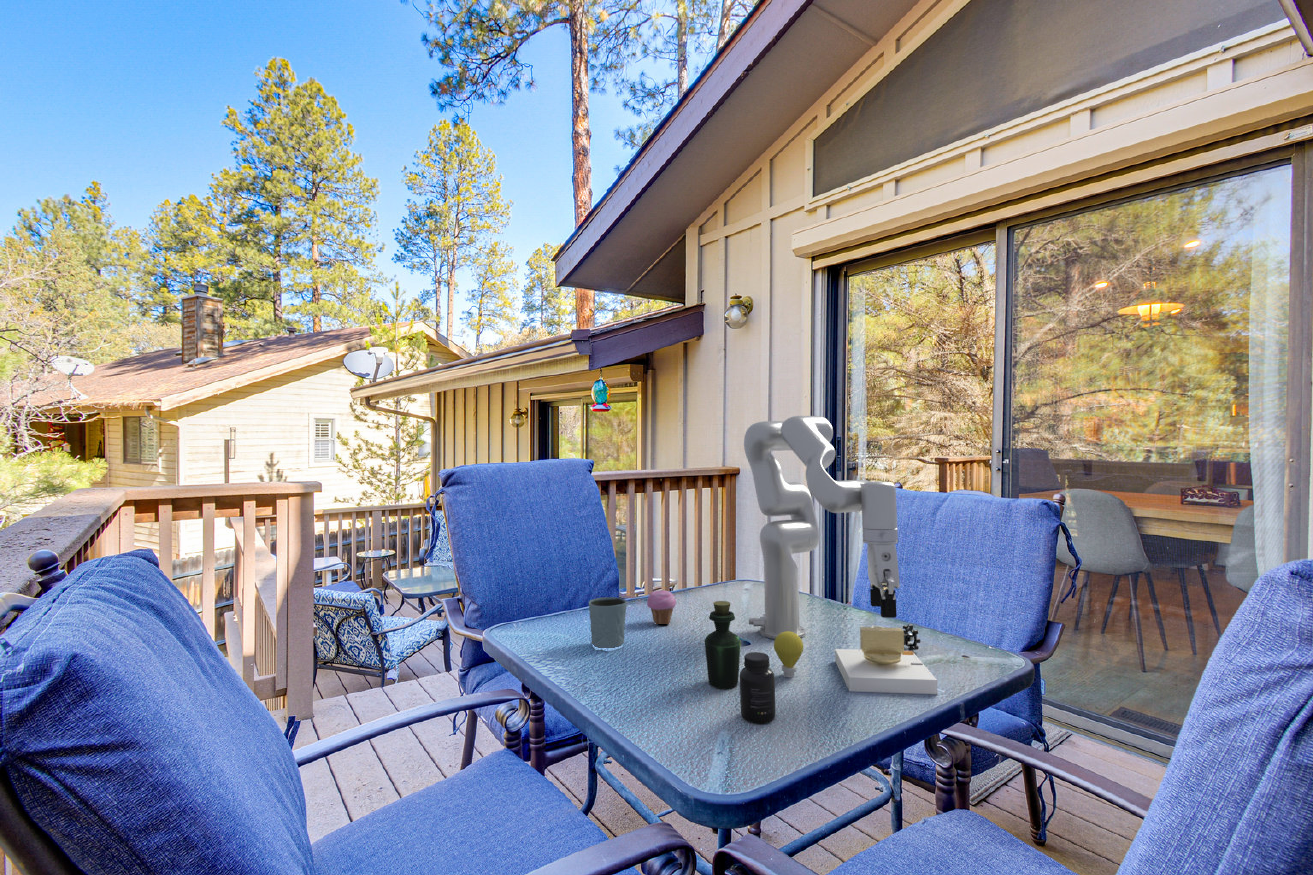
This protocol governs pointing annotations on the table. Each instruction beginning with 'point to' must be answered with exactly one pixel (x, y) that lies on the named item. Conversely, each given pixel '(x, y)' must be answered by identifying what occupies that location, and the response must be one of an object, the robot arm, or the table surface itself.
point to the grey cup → (607, 621)
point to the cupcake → (661, 606)
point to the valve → (909, 637)
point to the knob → (883, 644)
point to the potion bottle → (722, 649)
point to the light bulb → (788, 651)
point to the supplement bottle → (757, 689)
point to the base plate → (884, 674)
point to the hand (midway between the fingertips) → (883, 611)
